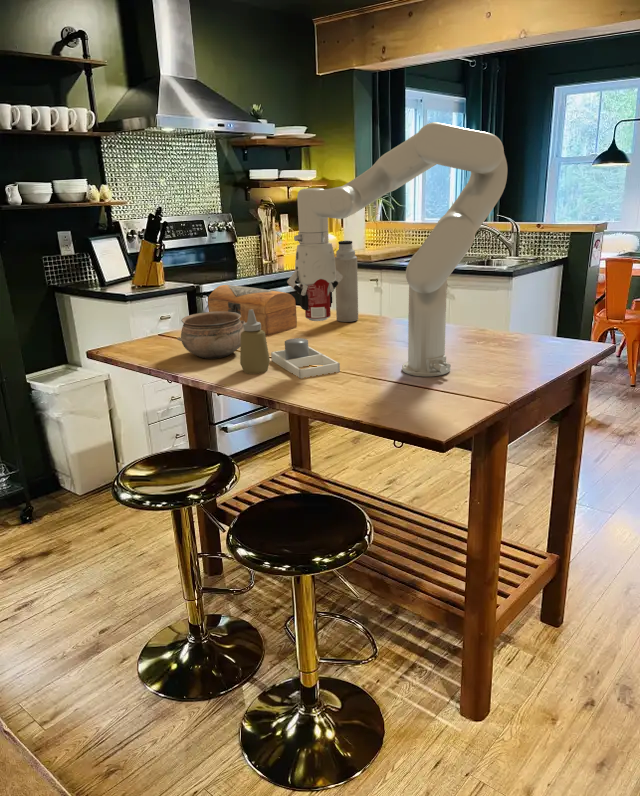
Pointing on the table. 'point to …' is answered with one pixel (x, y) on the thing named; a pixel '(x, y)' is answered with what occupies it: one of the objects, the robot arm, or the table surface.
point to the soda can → (318, 301)
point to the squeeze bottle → (253, 347)
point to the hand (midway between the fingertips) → (316, 307)
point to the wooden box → (256, 306)
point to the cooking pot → (212, 334)
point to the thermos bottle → (346, 283)
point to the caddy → (303, 359)
